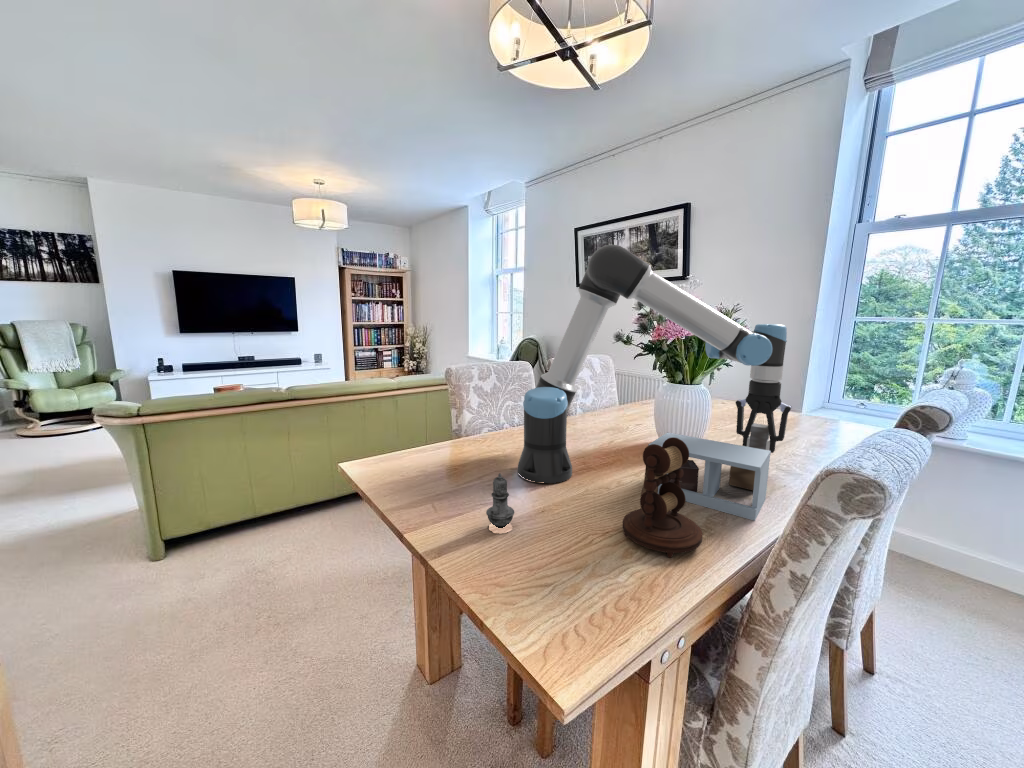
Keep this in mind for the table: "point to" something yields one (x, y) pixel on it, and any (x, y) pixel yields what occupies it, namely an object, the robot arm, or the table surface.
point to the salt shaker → (500, 504)
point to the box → (689, 476)
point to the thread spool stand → (663, 503)
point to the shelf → (714, 459)
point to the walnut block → (757, 440)
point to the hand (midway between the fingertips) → (757, 460)
